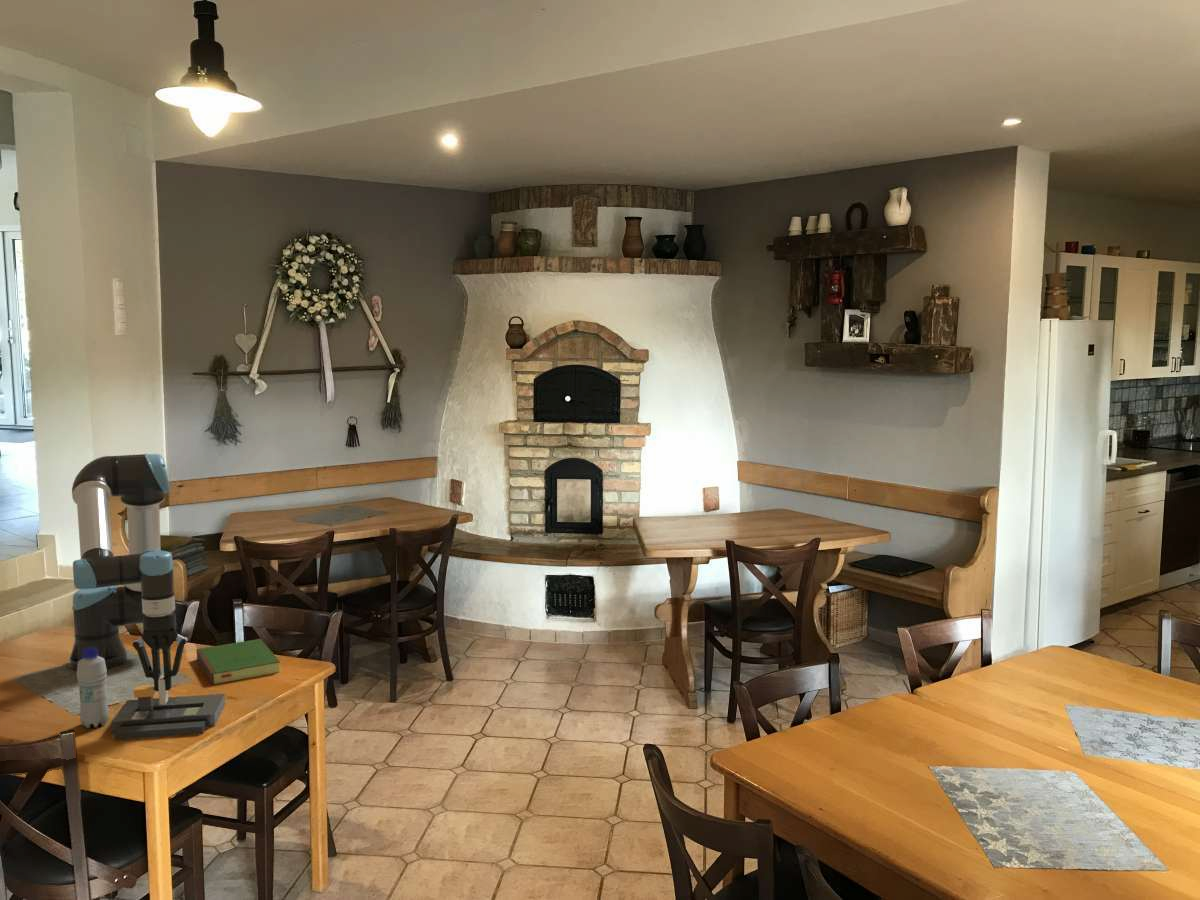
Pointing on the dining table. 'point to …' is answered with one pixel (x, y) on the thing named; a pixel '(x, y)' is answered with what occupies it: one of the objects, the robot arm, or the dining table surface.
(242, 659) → the hardcover book
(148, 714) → the panel
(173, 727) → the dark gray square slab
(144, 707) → the toggle
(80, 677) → the bottle
